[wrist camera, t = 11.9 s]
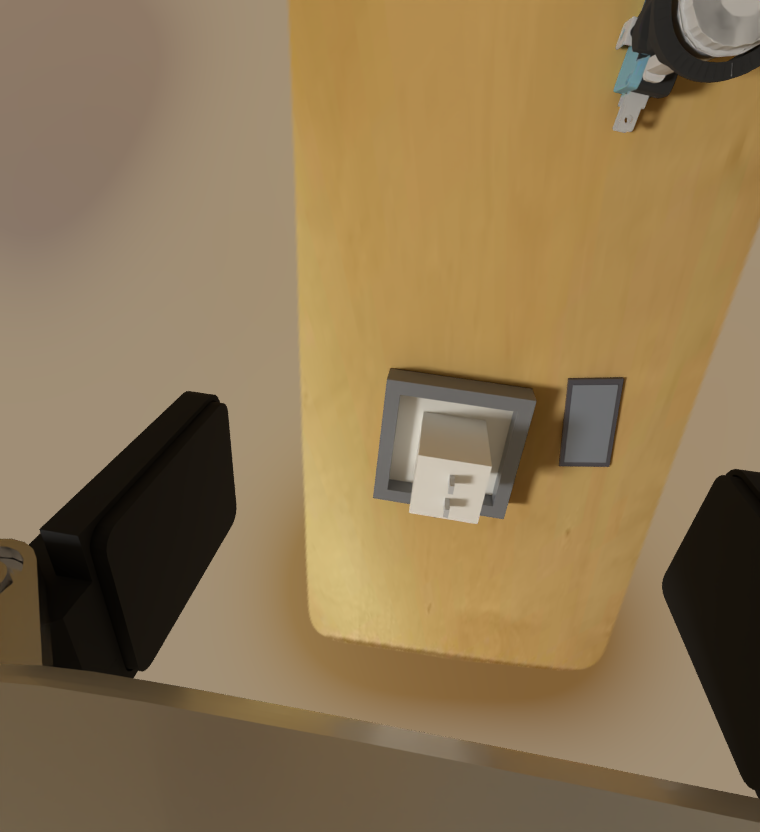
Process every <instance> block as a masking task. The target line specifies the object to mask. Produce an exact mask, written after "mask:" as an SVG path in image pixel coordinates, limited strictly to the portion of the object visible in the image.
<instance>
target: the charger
mask: <svg viewBox="0 0 760 832" xmlns="http://www.w3.org/2000/svg"><path fill="white" fill-rule="evenodd" d="M491 468H492V464H491V456H490V448H489V441H488V433H487V425H486V421H483V420H477V419H470V418H463V417H457V416H450V415H444V414H437V413H430V412H424V411H423V418H422V424H421V430H420V436H419V442H418V448H417V455H416V461H415V468H414V476H413V484H412V493H411V501H410V509H409V513H413V514H419V515H426V516H432V517H438V518H444V519H450V520H456V521H462V522H468V523H474V524H478V520H479V516H480V512H481V508H482V504H483V500H484V496H485V492H486V488H487V484H488V480H489V476H490V472H491Z"/></svg>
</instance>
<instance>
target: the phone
mask: <svg viewBox="0 0 760 832" xmlns="http://www.w3.org/2000/svg"><path fill="white" fill-rule="evenodd" d="M623 380H624V379H623V377H610V378H568V384H567V394H566V403H565V412H564V422H563V431H562V441H561V450H560V459H559V466H586V467H609V465H610V459H611V453H612V447H613V441H614V435H615V428H616V422H617V416H618V410H619V404H620V398H621V392H622V386H623Z"/></svg>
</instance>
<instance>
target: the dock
mask: <svg viewBox="0 0 760 832" xmlns="http://www.w3.org/2000/svg"><path fill="white" fill-rule="evenodd" d="M535 405H536V398H535V395H534V392H533V390H532V389H530V388H524V387H517V386H510V385H503V384H496V383H489V382H482V381H475V380H468V379H461V378H454V377H447V376H440V375H433V374H426V373H419V372H412V371H405V370H399V369H392V368H390V371H389V374H388V378H387V384H386V393H385V401H384V410H383V418H382V427H381V435H380V444H379V452H378V461H377V469H376V478H375V486H374V495H373V498H376V499H382V500H388V501H394V502H401V503H407V504H410V501H411V493H412V484H413V476H414V468H415V461H416V455H417V448H418V442H419V436H420V430H421V424H422V418H423V411H424V412H430V413H437V414H444V415H450V416H457V417H463V418H470V419H477V420H483V421H486V425H487V433H488V441H489V448H490V456H491V464H492V468H491V472H490V476H489V480H488V484H487V488H486V492H485V496H484V500H483V504H482V508H481V512H480V515H481V516H487V517H493V518H499V519H504V516H505V513H506V509H507V505H508V502H509V498H510V495H511V491H512V487H513V484H514V480H515V477H516V473H517V469H518V466H519V462H520V459H521V455H522V451H523V448H524V444H525V441H526V437H527V434H528V430H529V426H530V423H531V419H532V416H533V412H534V408H535Z"/></svg>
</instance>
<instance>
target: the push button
mask: <svg viewBox="0 0 760 832" xmlns="http://www.w3.org/2000/svg"><path fill="white" fill-rule="evenodd" d="M624 31H625V32H624ZM623 33H624V35H623ZM622 36H623V37H622ZM623 45H629V48H628V50H627V53H626V56H625V59H624V62H623V64H622V67H621V70H620V73H619V76H618V78H617V81H616V84H615V87H614V92H616V93H620V94H622V96H621V98H620V101H619V104H618V106H619V107H620V109H619V112H618V115H617V118H616V120H615V123H614V126H613V130H614V131H619V132H623V133H626V132H627V131H628V132H631V131H633V129H634V126H635V123H636V121H637V118H638V116H639V113H640V110H641V109H644V108H645V105H646V103H647V100H648V98H650V97H654V98H662V97H666V96H668V95H669V94H670V92H671V90H672V88H673V85H674V83H675V80H676V78H677V75H680V76H682V77H684V78H686V79H689V80H692V81H696V82H706V83H711V82H720V81H725V80H729V79H732V78H735V77H738V76H741V75H743V74H746V73H748V72H750V71H752V70H754V69H756V68H757V67H759V66H760V0H645V3H644V5H643V8H642V11H641V13H640V14H639V16H638V17H632V18H631V19H629V20H628V21H627V22H626V23H625V24H624V26H623V28H622V31H621V34H620V36H619V39H618V42H617V45H616V49H619V48H620V47H622V46H623ZM734 55H737V56H736V57H734V58H732V59H731V60H729V61H727V62H718V63H717V62H707V60H710V59H713V58H715V57H724V56H734ZM625 118H627V122H626V123H625ZM632 118H633V119H632ZM631 120H632V122H631ZM619 121H620V122H619Z"/></svg>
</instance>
